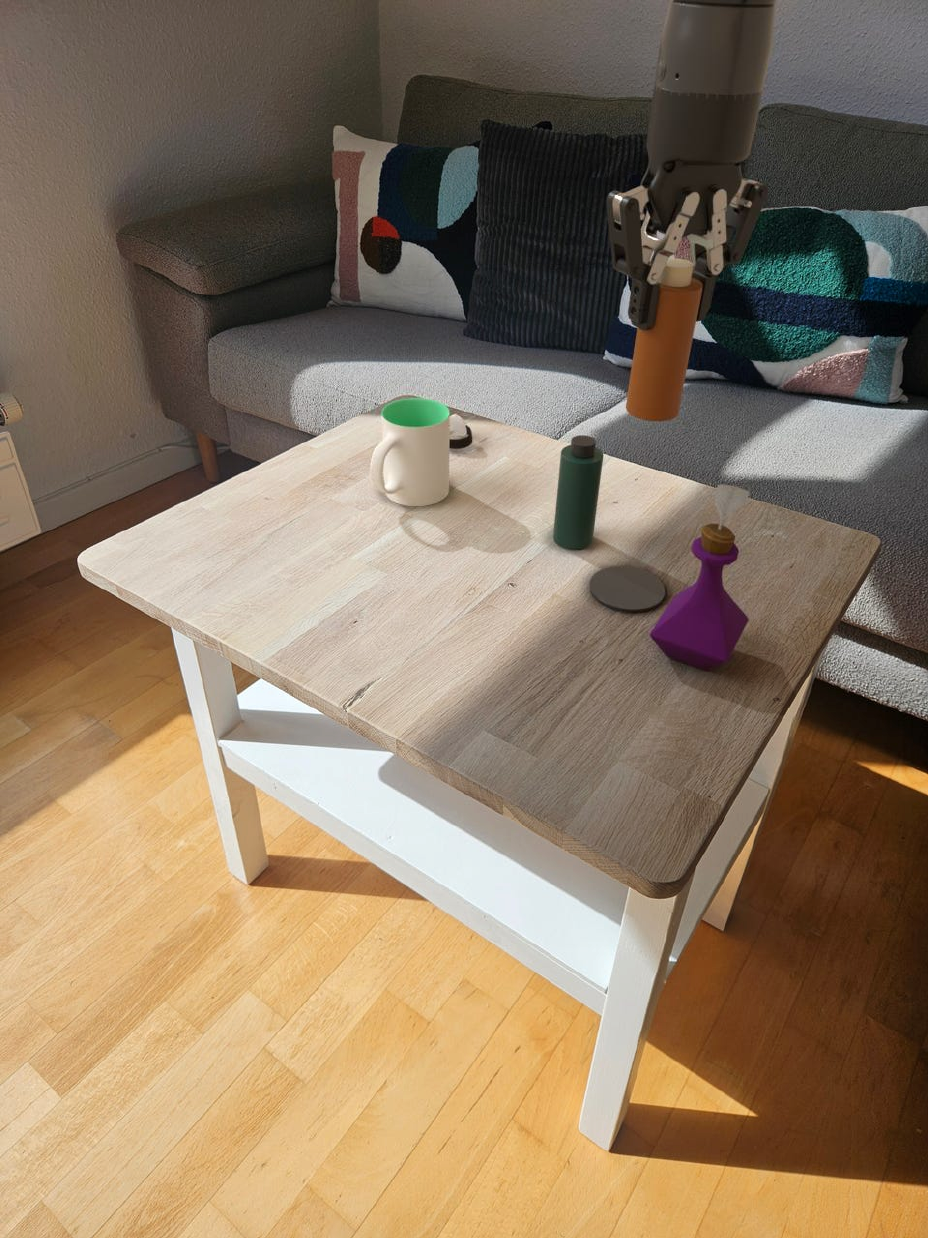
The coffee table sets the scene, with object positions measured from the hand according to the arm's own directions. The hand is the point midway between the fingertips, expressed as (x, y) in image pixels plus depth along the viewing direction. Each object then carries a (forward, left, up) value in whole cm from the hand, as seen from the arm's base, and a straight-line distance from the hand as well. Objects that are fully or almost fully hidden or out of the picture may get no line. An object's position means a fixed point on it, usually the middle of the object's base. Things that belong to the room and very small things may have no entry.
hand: (667, 321), depth 72 cm
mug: (+21, -24, -30) cm, 44 cm away
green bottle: (+3, -14, -30) cm, 33 cm away
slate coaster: (-1, -4, -30) cm, 30 cm away
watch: (+15, -39, -30) cm, 52 cm away
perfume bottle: (-6, +7, -30) cm, 32 cm away
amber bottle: (0, 0, -8) cm, 8 cm away
